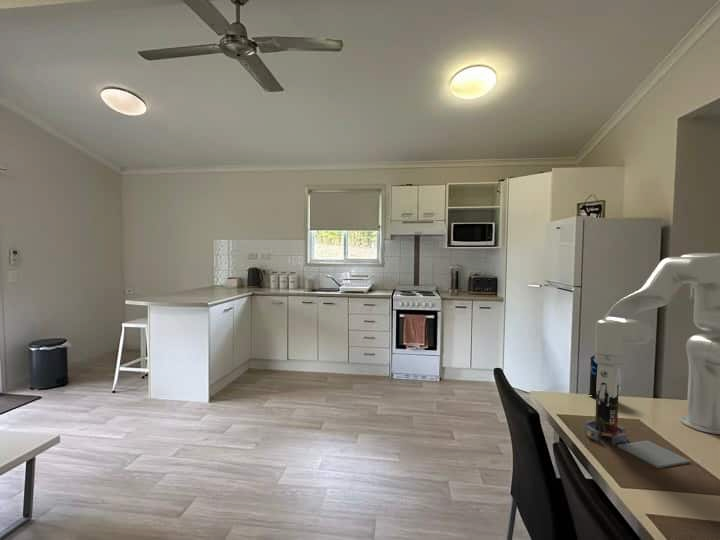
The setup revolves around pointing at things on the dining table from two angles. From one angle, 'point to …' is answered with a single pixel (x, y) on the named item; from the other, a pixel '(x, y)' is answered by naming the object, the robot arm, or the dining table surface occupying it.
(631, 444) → the coaster
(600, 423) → the deodorant
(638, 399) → the dining table surface
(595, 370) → the aerosol can
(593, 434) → the collar
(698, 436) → the dining table surface
